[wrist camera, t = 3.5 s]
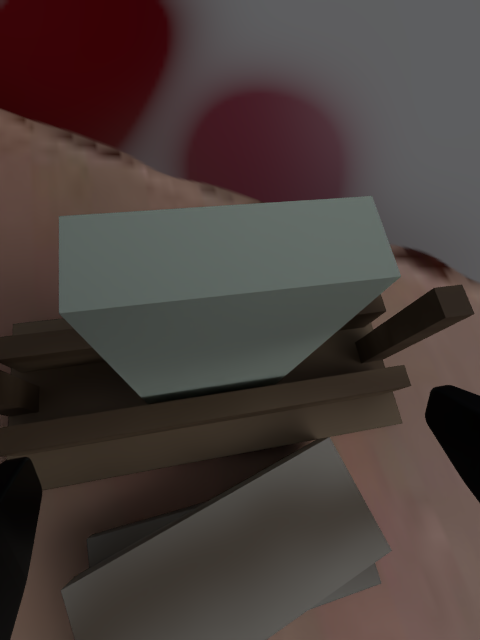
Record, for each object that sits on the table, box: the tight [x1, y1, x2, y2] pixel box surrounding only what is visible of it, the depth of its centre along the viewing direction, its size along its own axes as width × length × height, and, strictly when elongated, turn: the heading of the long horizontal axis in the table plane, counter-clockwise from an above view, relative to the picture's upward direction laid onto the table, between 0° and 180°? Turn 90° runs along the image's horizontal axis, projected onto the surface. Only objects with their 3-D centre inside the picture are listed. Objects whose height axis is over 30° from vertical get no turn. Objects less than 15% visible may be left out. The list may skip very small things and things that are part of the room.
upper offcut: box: [61, 437, 392, 640], centre depth 14 cm, size 5×12×2 cm, turn 117°
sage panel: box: [59, 196, 401, 404], centre depth 12 cm, size 2×6×12 cm, turn 100°
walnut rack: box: [0, 285, 474, 490], centre depth 15 cm, size 8×19×8 cm, turn 100°
